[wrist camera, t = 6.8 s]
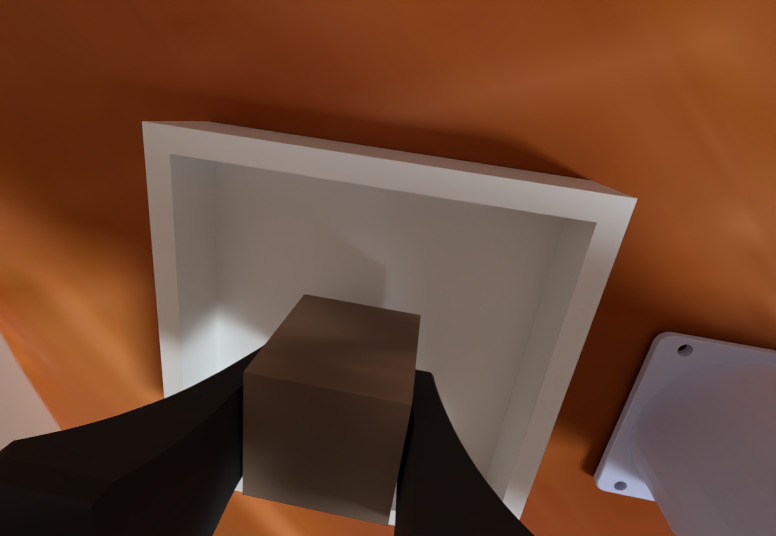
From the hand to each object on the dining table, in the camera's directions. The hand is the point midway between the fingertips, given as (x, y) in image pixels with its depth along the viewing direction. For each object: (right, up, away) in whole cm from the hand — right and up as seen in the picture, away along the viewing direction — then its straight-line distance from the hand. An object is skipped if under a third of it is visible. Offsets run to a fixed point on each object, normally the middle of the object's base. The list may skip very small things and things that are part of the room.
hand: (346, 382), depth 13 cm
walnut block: (0, +1, +1) cm, 1 cm away
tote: (+1, +1, +4) cm, 4 cm away
